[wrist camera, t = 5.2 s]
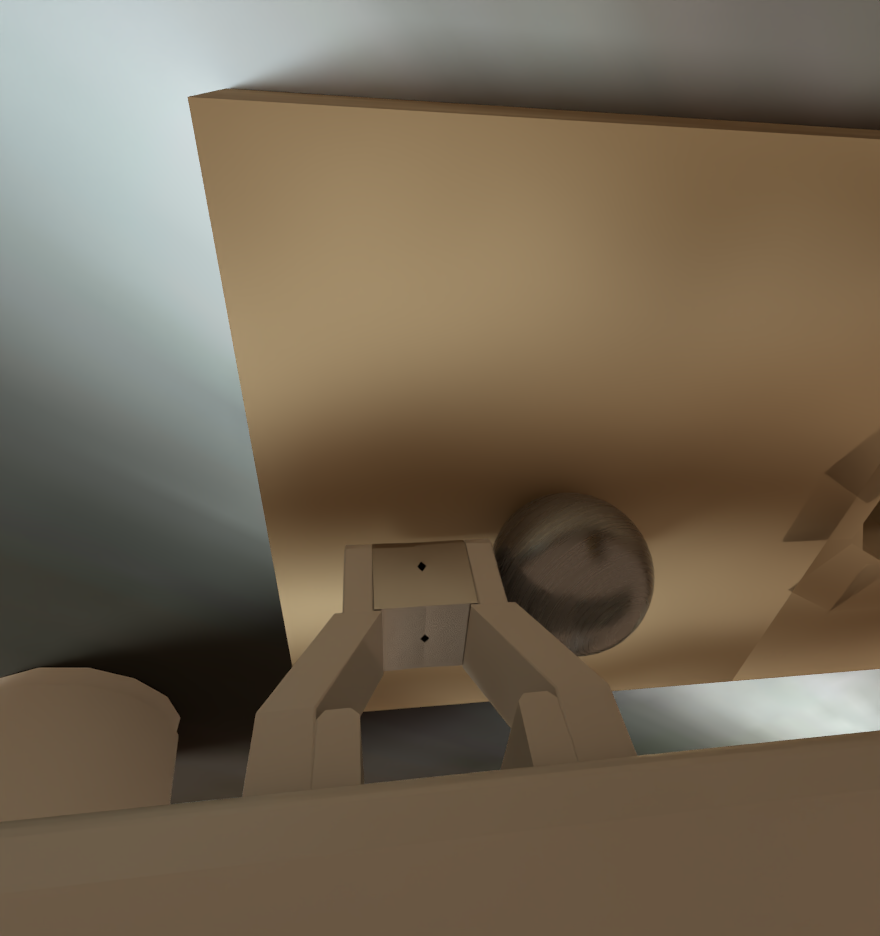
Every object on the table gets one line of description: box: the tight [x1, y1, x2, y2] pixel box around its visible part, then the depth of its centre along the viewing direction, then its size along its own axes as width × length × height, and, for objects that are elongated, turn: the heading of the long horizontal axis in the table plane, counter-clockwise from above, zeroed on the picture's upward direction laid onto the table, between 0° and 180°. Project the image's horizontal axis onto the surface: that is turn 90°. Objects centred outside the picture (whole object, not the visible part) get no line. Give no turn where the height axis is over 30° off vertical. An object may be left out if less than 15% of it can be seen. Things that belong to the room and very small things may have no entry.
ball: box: [493, 493, 655, 656], centre depth 11 cm, size 3×3×3 cm
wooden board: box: [188, 89, 880, 712], centre depth 14 cm, size 15×21×2 cm
